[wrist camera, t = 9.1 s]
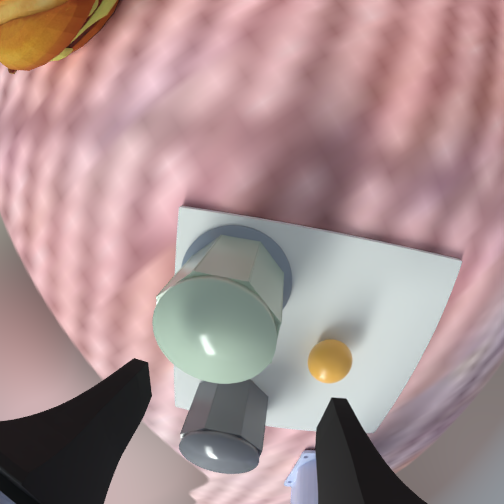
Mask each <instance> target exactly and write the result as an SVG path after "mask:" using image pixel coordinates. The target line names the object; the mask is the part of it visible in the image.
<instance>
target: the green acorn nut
mask: <svg viewBox="0 0 504 504" xmlns="http://www.w3.org/2000/svg"><path fill="white" fill-rule="evenodd" d="M283 286H284V272H283V271H282V270H281V268H280V267H279V266H278V264H277V263H276V262H275V260H274V259H273V258H272V256H271V255H270V254H269V252H268V251H267V249H266V248H265V247H264V245H263V244H262V243H261V241H254V240H248V239H243V238H237V237H232V236H226V235H220V236H219V237H218V238H216V239H215V240H213V241H212V242H211V243H209V244H208V245H207V246H205V247H204V248H202V249H201V250H200V251H198V252H197V253H196V254H194V255H192V256H191V257H190V259H189V260H188V261H187V262H186V263H185V264H184V265H183V266H182V268H181V269H180V270H179V271H178V272H177V273H176V274H175V275H174V277H173V278H172V279H171V280H170V281H169V282H168V284H167V285H166V286H165V287H164V288H163V289H162V290H161V292H160V293H159V294H158V295H157V297H156V298H157V305H156V308H155V310H154V314H153V331H154V335H155V338H156V341H157V343H158V345H159V347H160V349H161V350H162V352H163V353H164V355H165V356H166V357H167V358H168V359H169V360H170V361H171V362H172V363H173V364H174V365H175V366H176V367H178V368H179V369H180V370H182V371H183V372H185V373H187V374H189V375H191V376H193V377H195V378H197V379H200V380H203V381H207V382H212V383H220V384H231V383H238V382H242V381H246V380H248V379H251V378H253V377H255V376H257V375H258V374H259V373H261V372H262V371H263V370H264V369H265V368H266V367H267V366H268V365H269V364H270V363H272V358H273V357H274V354H275V351H276V345H277V338H278V334H279V330H280V326H281V324H282V309H283Z"/></svg>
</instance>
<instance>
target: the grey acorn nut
mask: <svg viewBox="0 0 504 504" xmlns="http://www.w3.org/2000/svg"><path fill="white" fill-rule="evenodd" d="M267 405H268V396H267V395H266V394H265V393H264V392H263V391H262V390H261V389H260V388H259V387H258V386H257V385H256V384H255V383H254V382H253V381H252V380H251V379H248V380H246V381H242V382H238V383H231V384H220V383H212V382H207V381H203V382H201V383H199V386H198V388H197V391H196V394H195V396H194V399H193V401H192V404H191V407H190V409H189V412H188V415H187V417H186V420H185V423H184V425H183V428H182V431H181V433H180V435H181V442H180V444H179V449H180V452H181V453H182V455H183V456H184V457H185V458H186V459H187V460H189V461H190V462H192V463H193V464H195V465H197V466H199V467H201V468H204V469H207V470H210V471H214V472H218V473H226V474H239V473H245V472H248V471H251V470H253V469H254V468H256V467H257V465H258V463H259V457H260V455H261V452H262V449H263V440H264V432H265V423H266V415H267Z"/></svg>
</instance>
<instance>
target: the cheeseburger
mask: <svg viewBox="0 0 504 504" xmlns="http://www.w3.org/2000/svg"><path fill="white" fill-rule="evenodd" d="M118 1H119V0H0V62H1V63H2V64H3V65H5V66H6V67H7V68H8V71H9V73H11V74H15V72H16V71H17V70H27V71H29V70H32V69H34V68H37V67H39V66H42V65H45V64H46V63H48V62H50V61H58V60H60V59H63V58H65V57H67V56H68V55H69V54H70V53H72V52H73V51H75V50H77V49H79V48H80V47H82V46H83V45H84V44H86V43H87V42H88V41H89V40H90V39H91V38H92V37H93V36H94V35H95V34H96V33H97V32H98V31H100V29H101V28H102V27H103V25H104V24H105V23H106V21H107V20H108V19H109V17H110V16H111V15H112V13H113V12H114V11H115V8H116V6H117V4H118Z"/></svg>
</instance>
